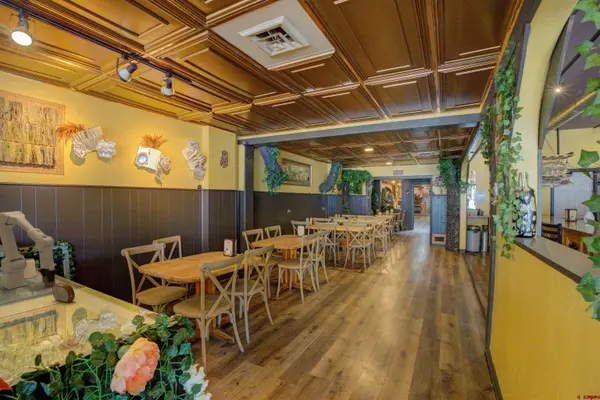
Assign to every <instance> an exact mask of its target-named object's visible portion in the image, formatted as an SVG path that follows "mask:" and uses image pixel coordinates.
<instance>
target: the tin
mask: <svg viewBox="0 0 600 400" xmlns="http://www.w3.org/2000/svg"><path fill="white" fill-rule="evenodd" d="M55 284H56V285H53V286H52V287H51V292H52V297H53V298H54V300H56V301H58V302H61V303H62V302H63V303H69V302H72V301H74V300H75V298H76V297H75V296H76V294H75V293H76V292H75V290H74V288H73V286H72V285H71V284H68V283H62V282H59V283H55Z"/></svg>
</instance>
